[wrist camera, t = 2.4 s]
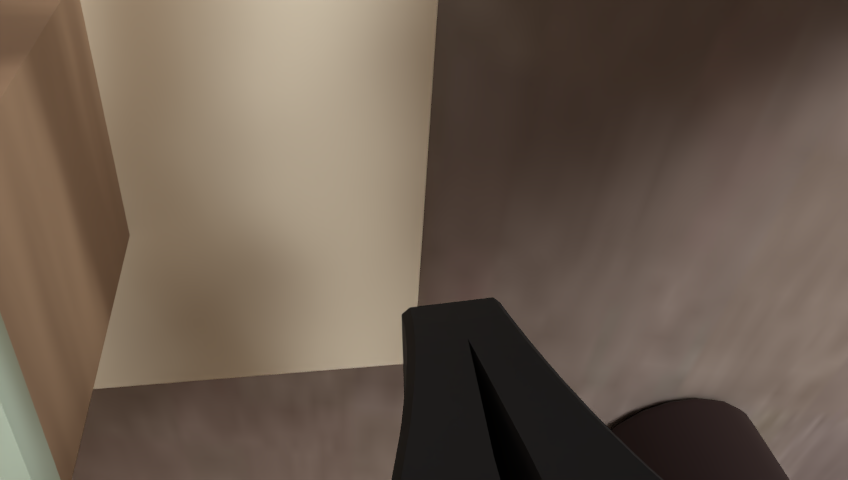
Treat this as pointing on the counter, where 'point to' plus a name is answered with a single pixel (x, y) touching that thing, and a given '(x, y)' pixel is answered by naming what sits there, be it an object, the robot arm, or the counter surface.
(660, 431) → the bottle
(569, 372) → the counter surface
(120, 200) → the walnut block
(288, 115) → the birch board
